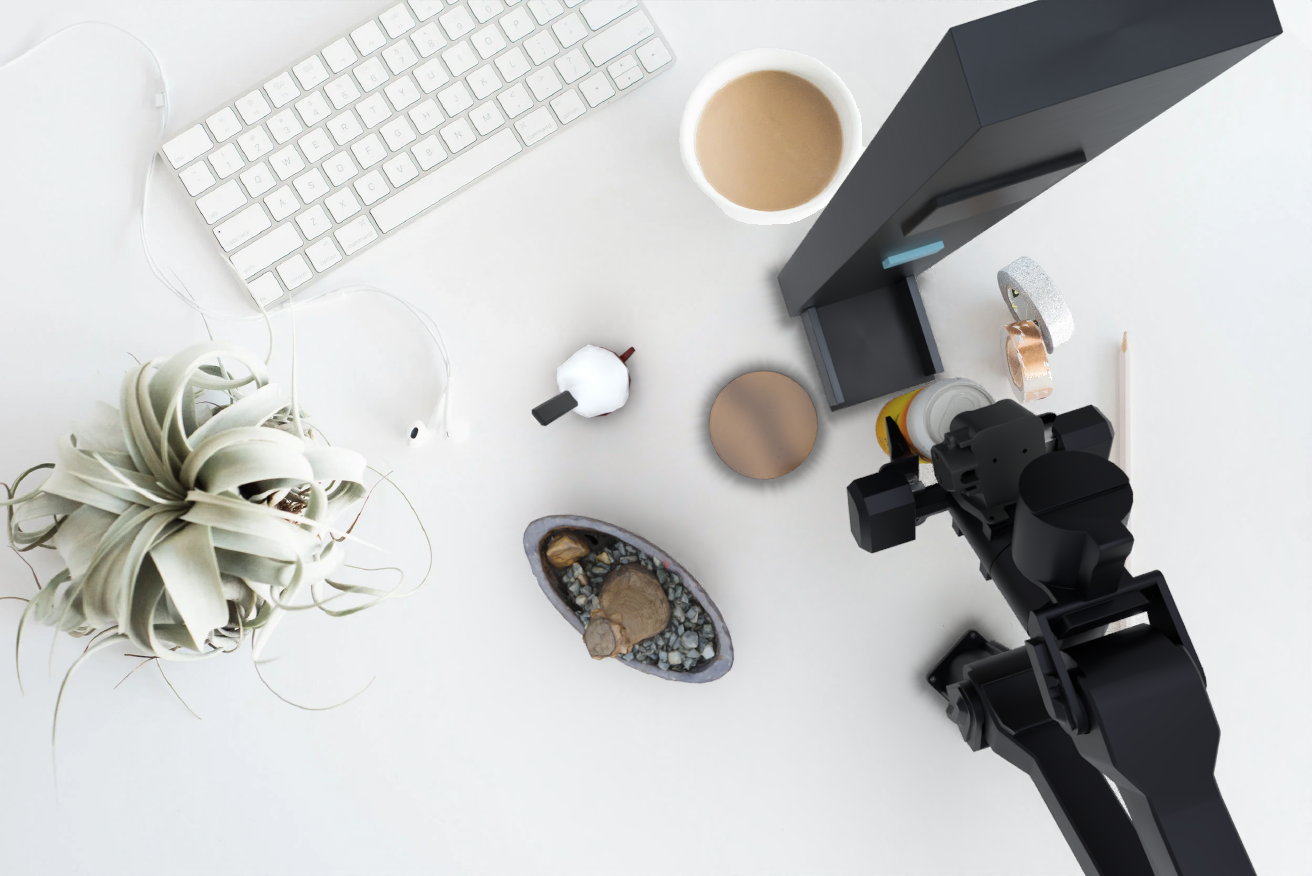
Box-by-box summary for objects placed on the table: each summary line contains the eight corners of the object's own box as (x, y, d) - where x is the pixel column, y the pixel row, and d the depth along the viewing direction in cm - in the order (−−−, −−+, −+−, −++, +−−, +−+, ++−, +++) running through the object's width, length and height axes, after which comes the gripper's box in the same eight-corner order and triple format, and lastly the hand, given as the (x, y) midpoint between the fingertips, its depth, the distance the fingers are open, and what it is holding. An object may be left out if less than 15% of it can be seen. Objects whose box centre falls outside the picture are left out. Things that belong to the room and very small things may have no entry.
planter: (536, 509, 77) (493, 531, 57) (716, 496, 77) (736, 514, 57) (548, 669, 77) (509, 747, 57) (728, 656, 77) (752, 730, 57)
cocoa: (631, 338, 77) (626, 318, 65) (652, 402, 77) (651, 393, 65) (534, 371, 77) (511, 357, 65) (556, 434, 77) (537, 432, 65)
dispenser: (943, 376, 77) (1362, 271, 31) (820, 415, 77) (1058, 367, 31) (899, 238, 77) (1252, -68, 31) (776, 276, 77) (949, 27, 31)
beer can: (865, 453, 73) (908, 449, 58) (883, 387, 73) (930, 366, 58) (933, 471, 73) (994, 472, 58) (951, 405, 73) (1016, 388, 58)
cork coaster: (766, 501, 77) (766, 501, 77) (686, 428, 77) (687, 428, 77) (838, 421, 77) (839, 421, 77) (759, 349, 77) (760, 348, 77)
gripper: (1194, 428, 49) (1048, 289, 60) (893, 524, 49) (803, 367, 60) (1157, 542, 57) (1034, 399, 68) (896, 625, 57) (817, 468, 68)
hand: (925, 407), depth 66 cm, fingers closed on beer can, 6 cm apart
